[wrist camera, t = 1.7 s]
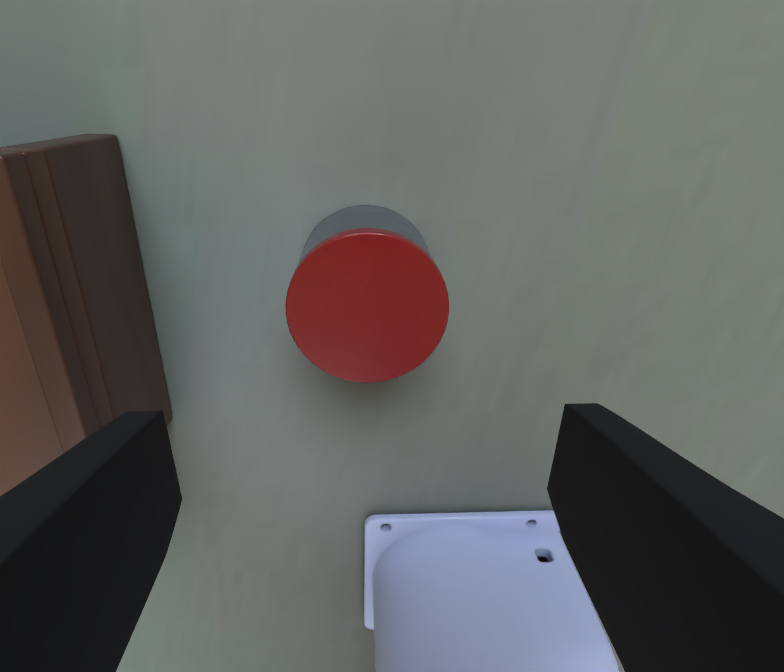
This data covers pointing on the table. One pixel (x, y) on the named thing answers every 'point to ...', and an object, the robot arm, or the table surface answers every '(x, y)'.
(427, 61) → the table surface
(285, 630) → the table surface
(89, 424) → the rack
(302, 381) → the table surface
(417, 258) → the spice tin
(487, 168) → the table surface
